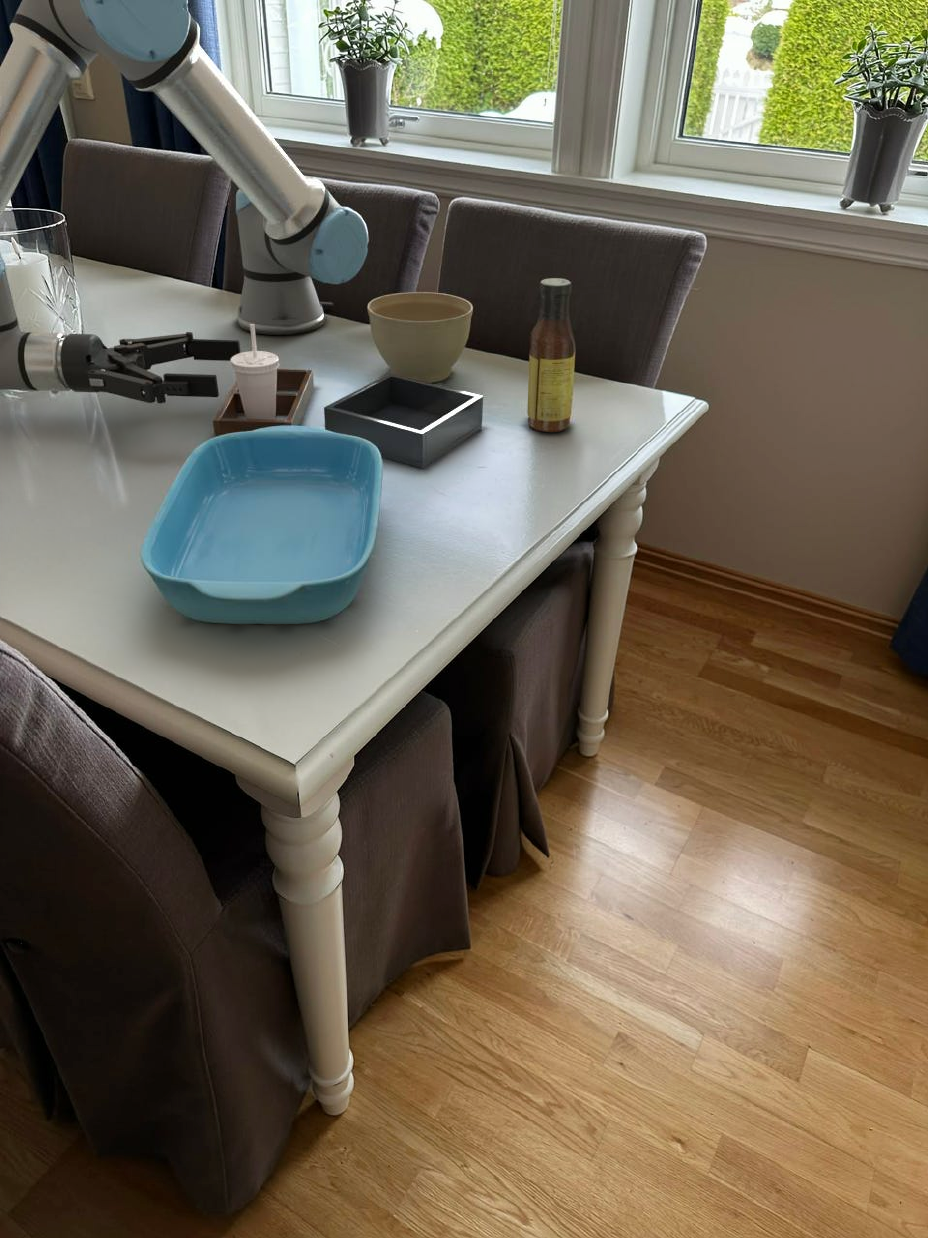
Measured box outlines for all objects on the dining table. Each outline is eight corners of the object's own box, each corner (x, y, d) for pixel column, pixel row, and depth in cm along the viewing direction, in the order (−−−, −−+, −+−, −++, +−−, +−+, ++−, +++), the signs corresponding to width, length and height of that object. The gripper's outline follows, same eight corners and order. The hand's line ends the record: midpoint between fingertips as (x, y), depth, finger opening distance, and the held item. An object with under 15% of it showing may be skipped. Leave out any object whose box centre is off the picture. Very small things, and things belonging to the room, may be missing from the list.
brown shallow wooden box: (246, 387, 137) (243, 367, 136) (314, 388, 137) (312, 369, 136) (215, 441, 121) (212, 420, 119) (293, 443, 121) (291, 422, 119)
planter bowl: (477, 362, 149) (480, 294, 143) (460, 397, 136) (462, 325, 130) (383, 353, 151) (382, 287, 145) (357, 387, 138) (354, 316, 132)
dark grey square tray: (390, 404, 133) (389, 373, 130) (482, 428, 127) (483, 395, 124) (325, 440, 122) (323, 407, 119) (422, 468, 116) (422, 433, 113)
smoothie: (290, 419, 128) (281, 319, 120) (278, 437, 122) (268, 334, 114) (246, 416, 128) (234, 316, 120) (232, 434, 123) (219, 331, 115)
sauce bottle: (578, 426, 129) (593, 282, 117) (551, 438, 125) (564, 291, 113) (543, 413, 132) (554, 272, 121) (515, 424, 128) (524, 280, 117)
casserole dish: (372, 656, 83) (369, 592, 79) (128, 655, 82) (112, 590, 78) (388, 478, 113) (387, 424, 109) (210, 476, 112) (202, 422, 108)
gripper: (106, 358, 133) (250, 363, 133) (39, 426, 112) (210, 431, 112) (96, 306, 128) (245, 311, 128) (24, 367, 108) (201, 373, 108)
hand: (229, 367), depth 120 cm, fingers open, 13 cm apart
